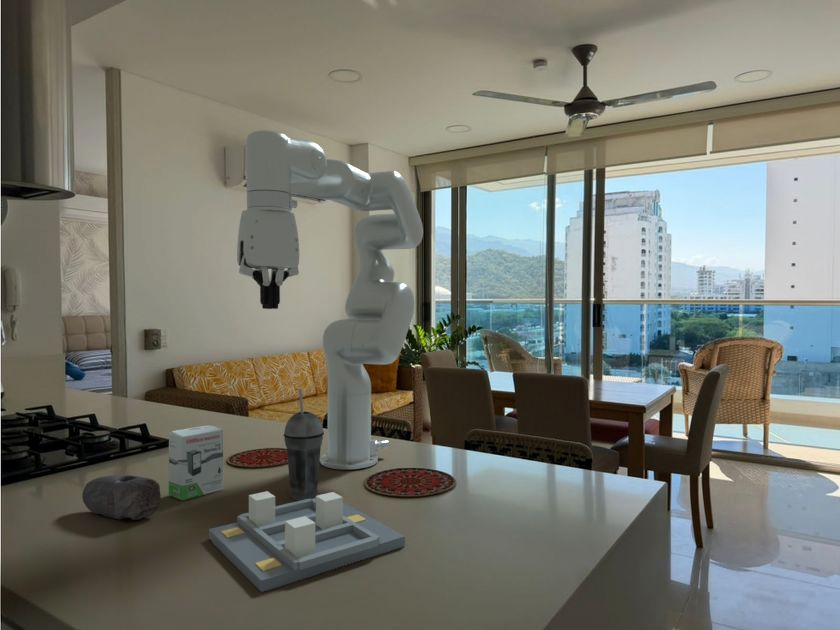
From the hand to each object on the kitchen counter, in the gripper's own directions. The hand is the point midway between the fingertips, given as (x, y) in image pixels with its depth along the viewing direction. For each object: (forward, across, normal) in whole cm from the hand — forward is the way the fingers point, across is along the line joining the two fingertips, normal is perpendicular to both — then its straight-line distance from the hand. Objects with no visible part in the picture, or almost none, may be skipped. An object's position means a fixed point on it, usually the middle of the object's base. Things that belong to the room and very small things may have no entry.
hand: (270, 308), depth 103 cm
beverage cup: (+35, -6, +2) cm, 35 cm away
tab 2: (+33, +8, +26) cm, 43 cm away
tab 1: (+33, +8, +13) cm, 36 cm away
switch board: (+34, +4, +20) cm, 40 cm away
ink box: (+35, +9, -13) cm, 38 cm away
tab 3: (+33, 0, +20) cm, 38 cm away
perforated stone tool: (+35, +23, -9) cm, 43 cm away
